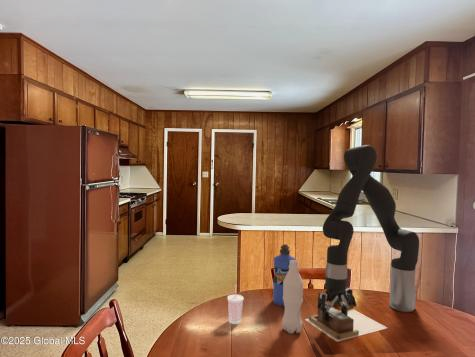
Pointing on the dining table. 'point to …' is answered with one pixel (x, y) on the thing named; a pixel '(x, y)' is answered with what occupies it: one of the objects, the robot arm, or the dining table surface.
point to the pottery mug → (344, 297)
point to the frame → (337, 321)
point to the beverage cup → (235, 307)
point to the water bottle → (292, 299)
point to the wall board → (359, 326)
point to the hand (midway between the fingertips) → (334, 319)
